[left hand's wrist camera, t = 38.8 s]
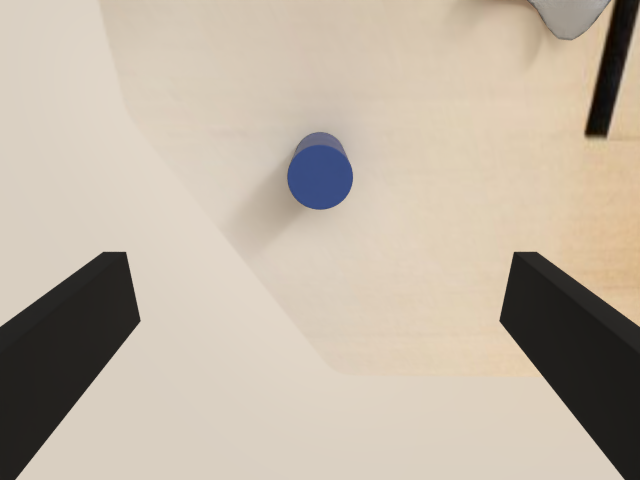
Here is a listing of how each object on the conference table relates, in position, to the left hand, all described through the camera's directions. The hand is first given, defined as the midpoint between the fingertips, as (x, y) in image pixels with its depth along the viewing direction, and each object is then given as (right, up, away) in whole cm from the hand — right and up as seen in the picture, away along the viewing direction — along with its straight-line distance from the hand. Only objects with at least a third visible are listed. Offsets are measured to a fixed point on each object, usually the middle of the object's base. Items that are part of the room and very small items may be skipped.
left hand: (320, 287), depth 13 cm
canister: (0, +10, +27) cm, 29 cm away
